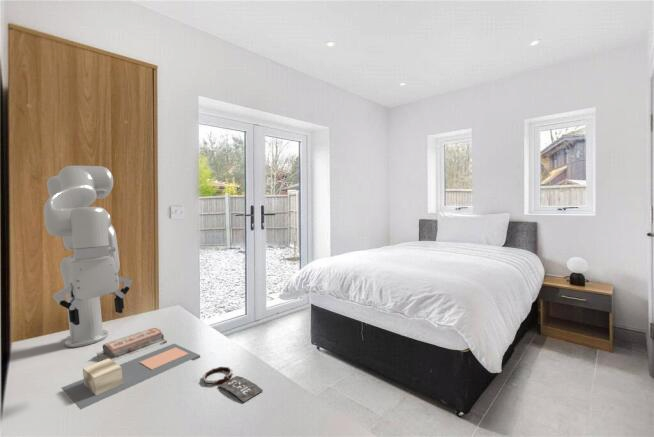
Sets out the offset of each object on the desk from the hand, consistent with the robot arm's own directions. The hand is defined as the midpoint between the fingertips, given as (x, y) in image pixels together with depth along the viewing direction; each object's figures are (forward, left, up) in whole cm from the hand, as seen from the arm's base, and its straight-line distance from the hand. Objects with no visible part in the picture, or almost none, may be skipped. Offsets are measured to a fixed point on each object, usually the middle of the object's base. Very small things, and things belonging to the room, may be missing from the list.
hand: (98, 318), depth 83 cm
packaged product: (-17, +14, -19) cm, 29 cm away
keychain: (+29, +18, -19) cm, 39 cm away
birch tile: (+1, 0, -18) cm, 18 cm away
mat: (+1, +8, -18) cm, 20 cm away
